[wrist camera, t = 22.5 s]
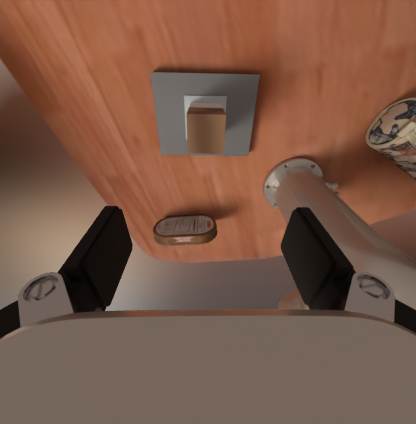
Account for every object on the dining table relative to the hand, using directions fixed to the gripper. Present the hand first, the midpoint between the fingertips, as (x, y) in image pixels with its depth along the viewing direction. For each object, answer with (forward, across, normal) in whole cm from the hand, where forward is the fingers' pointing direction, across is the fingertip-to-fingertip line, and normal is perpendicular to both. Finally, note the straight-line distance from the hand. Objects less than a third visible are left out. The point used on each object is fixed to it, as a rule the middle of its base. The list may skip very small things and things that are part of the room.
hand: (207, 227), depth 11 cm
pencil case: (+31, -39, +4) cm, 50 cm away
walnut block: (+24, 0, 0) cm, 24 cm away
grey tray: (+30, 0, 0) cm, 30 cm away
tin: (+31, +4, +24) cm, 39 cm away
